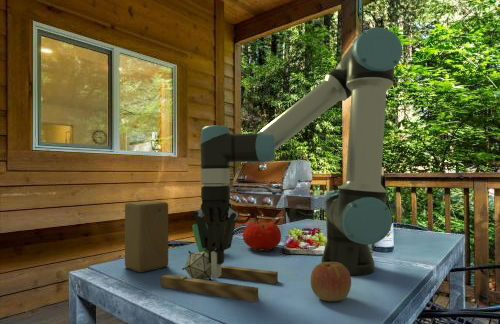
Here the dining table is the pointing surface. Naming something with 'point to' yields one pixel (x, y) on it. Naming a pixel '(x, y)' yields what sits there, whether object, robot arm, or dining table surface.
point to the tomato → (262, 236)
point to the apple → (330, 281)
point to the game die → (198, 265)
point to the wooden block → (146, 235)
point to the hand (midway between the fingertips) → (216, 276)
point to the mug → (198, 238)
